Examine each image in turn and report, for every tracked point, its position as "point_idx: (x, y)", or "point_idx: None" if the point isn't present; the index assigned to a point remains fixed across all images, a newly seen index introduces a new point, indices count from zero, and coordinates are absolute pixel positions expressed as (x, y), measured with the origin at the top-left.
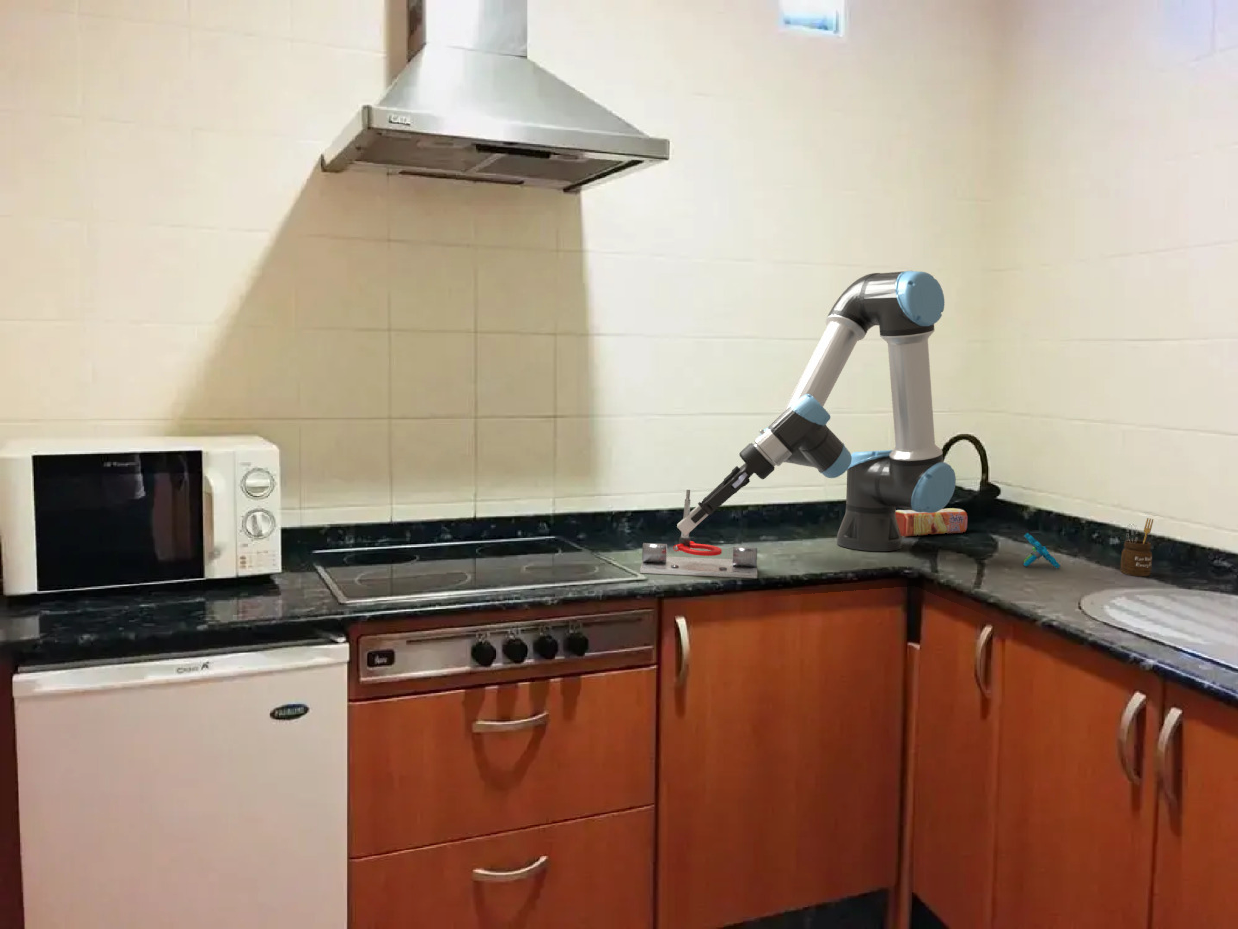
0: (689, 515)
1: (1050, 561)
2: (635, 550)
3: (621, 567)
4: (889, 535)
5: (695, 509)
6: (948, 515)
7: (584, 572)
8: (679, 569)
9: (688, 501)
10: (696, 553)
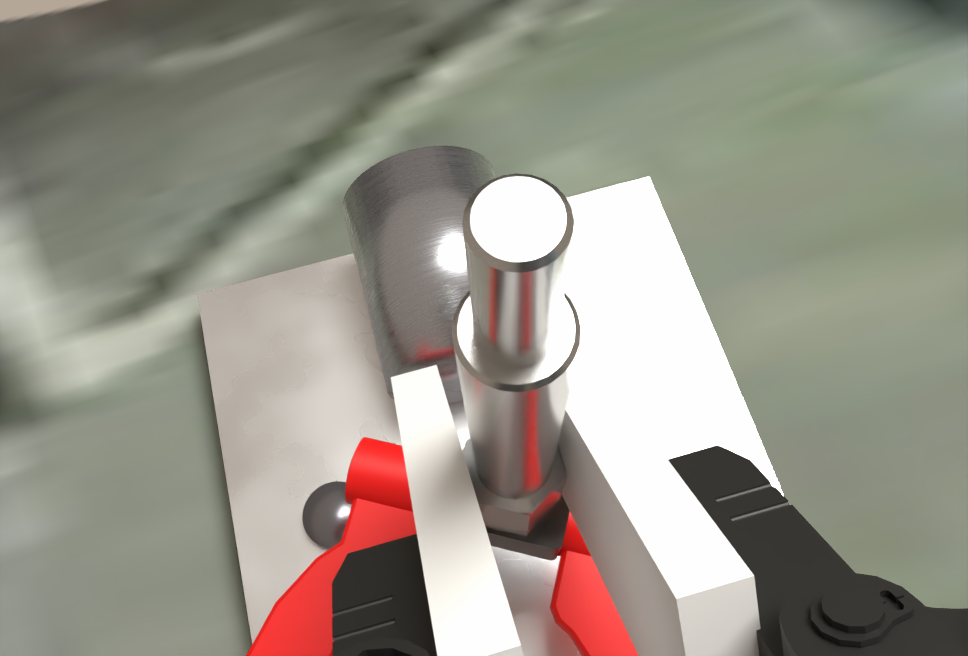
0: (415, 500)
1: None
2: (919, 39)
3: (341, 146)
4: None
5: (427, 589)
6: None
7: (116, 24)
8: (262, 584)
9: (468, 375)
10: None
